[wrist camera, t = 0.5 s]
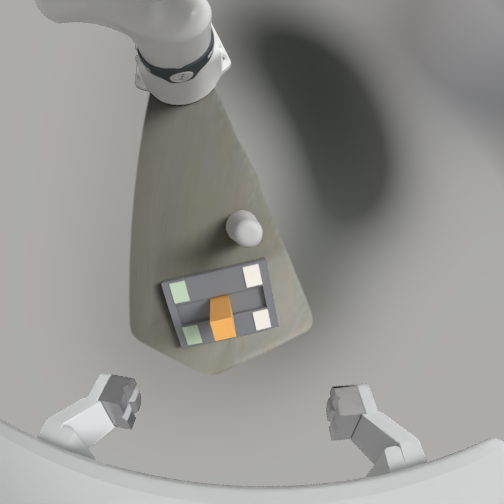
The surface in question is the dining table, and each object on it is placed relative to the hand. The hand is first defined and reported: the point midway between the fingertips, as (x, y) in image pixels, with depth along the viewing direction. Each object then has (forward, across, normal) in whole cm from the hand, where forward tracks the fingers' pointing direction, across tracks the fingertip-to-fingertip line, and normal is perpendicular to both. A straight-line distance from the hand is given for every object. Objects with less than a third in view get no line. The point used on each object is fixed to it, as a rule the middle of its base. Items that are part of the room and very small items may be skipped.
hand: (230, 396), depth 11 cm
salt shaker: (+45, +2, +7) cm, 46 cm away
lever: (+41, +6, +21) cm, 46 cm away
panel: (+42, +6, +22) cm, 47 cm away
